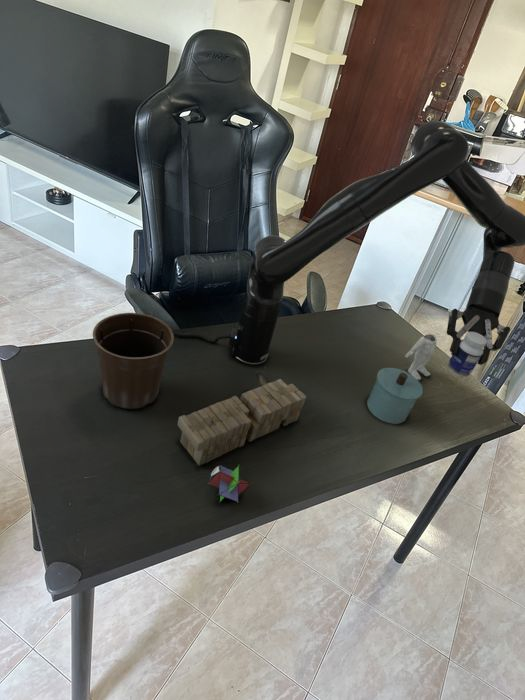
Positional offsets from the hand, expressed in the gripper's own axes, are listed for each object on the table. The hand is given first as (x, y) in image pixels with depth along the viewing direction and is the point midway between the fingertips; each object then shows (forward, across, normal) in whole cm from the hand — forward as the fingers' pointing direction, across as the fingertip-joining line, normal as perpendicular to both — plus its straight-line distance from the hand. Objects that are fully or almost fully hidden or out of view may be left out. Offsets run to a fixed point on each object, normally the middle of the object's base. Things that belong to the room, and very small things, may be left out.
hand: (467, 359), depth 113 cm
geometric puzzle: (+47, -39, -18) cm, 63 cm away
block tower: (+35, -43, -6) cm, 55 cm away
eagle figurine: (+26, -41, +3) cm, 49 cm away
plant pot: (+35, -69, -6) cm, 78 cm away
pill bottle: (+2, 0, +5) cm, 5 cm away
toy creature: (+1, -5, +29) cm, 29 cm away
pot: (+16, -12, +13) cm, 24 cm away
